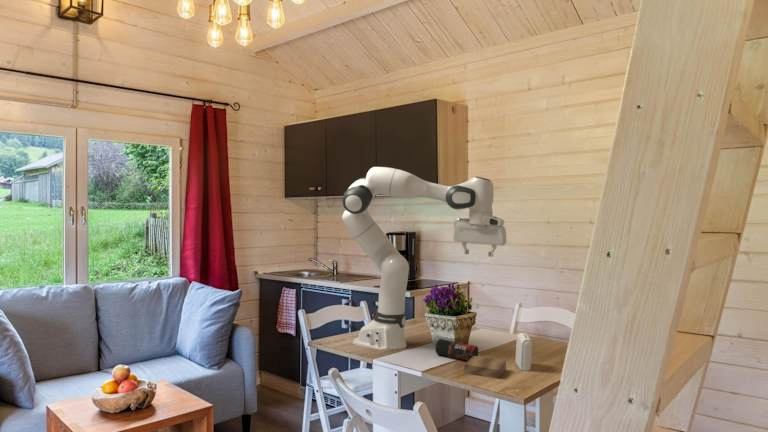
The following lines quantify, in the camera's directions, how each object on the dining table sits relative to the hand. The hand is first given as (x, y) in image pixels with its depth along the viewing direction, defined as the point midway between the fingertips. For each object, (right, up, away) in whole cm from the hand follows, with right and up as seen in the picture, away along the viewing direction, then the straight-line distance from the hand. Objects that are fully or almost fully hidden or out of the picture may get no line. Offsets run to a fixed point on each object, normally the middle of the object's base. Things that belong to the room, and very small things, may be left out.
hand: (478, 255), depth 224 cm
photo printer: (+15, -41, -9) cm, 44 cm away
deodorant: (-2, -37, -6) cm, 37 cm away
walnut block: (-1, -41, -18) cm, 44 cm away
